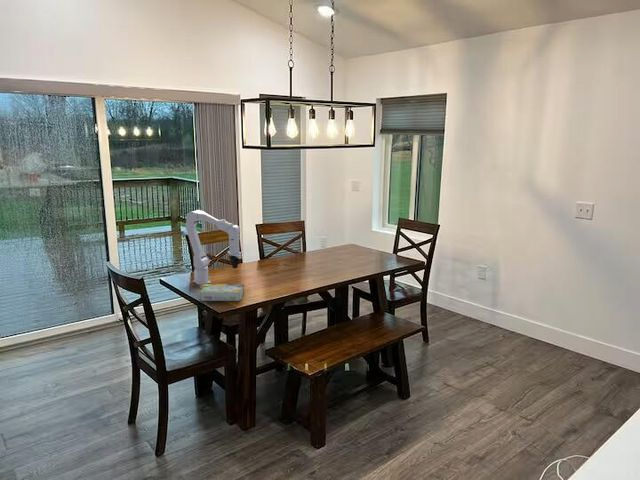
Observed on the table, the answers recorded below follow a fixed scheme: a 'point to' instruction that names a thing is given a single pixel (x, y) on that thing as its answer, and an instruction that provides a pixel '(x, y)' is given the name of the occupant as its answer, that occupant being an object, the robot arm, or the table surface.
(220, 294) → the snack box
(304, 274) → the table surface
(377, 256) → the table surface
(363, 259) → the table surface
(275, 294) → the table surface
